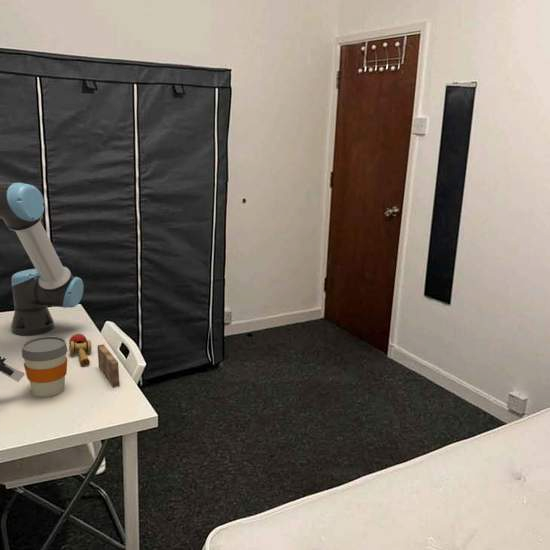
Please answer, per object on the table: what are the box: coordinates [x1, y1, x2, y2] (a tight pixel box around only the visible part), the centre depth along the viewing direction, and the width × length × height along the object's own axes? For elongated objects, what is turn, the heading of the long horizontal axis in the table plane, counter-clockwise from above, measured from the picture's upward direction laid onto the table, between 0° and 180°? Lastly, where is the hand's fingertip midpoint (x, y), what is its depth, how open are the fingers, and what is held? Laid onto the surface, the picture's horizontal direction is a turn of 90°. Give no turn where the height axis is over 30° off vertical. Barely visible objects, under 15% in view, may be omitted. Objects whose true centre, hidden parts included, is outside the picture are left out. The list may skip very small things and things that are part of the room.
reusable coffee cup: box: [21, 335, 69, 398], centre depth 164 cm, size 13×13×15 cm
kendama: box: [68, 333, 93, 367], centre depth 190 cm, size 8×6×18 cm
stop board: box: [96, 343, 120, 388], centre depth 175 cm, size 16×2×8 cm, turn 32°
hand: (20, 377), depth 161 cm, fingers closed
